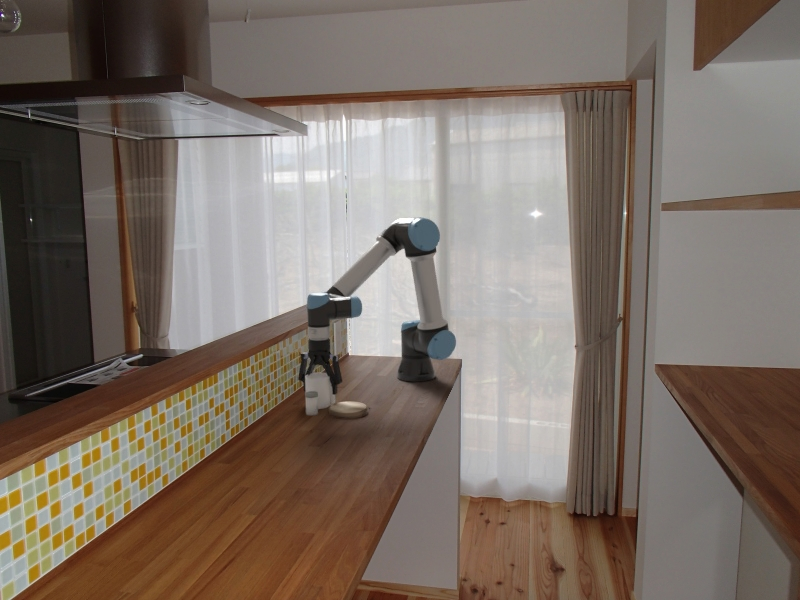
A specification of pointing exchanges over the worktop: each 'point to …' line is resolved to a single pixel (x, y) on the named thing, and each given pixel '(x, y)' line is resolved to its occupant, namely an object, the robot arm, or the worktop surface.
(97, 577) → the worktop surface
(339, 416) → the beige flat disc
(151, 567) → the worktop surface
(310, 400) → the spice jar
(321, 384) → the mug
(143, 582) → the worktop surface
